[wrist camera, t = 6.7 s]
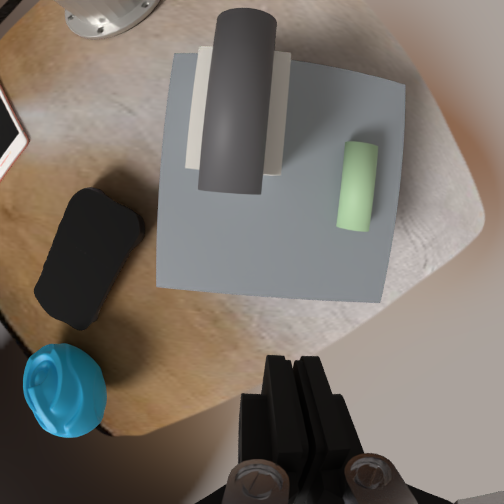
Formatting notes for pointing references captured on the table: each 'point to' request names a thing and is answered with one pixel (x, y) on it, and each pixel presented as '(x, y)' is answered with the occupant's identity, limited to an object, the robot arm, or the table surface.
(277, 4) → the table surface
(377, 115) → the plate
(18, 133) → the cell phone
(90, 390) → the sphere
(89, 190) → the black sponge
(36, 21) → the table surface
